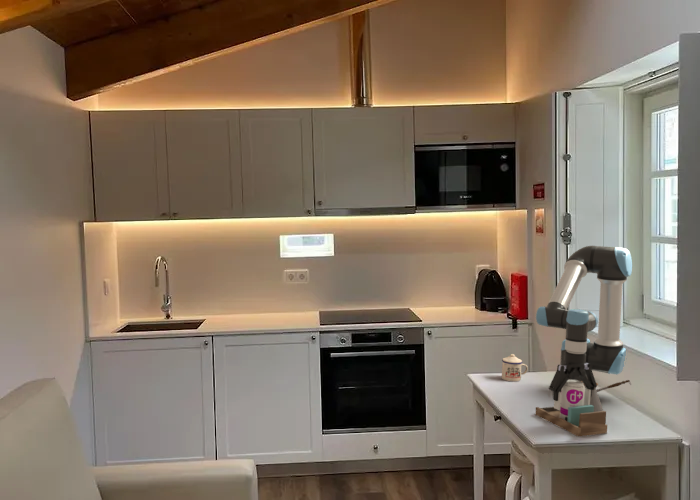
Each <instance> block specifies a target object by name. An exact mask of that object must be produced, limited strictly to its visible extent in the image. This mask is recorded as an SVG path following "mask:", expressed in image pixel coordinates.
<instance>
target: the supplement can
mask: <svg viewBox="0 0 700 500" xmlns="http://www.w3.org/2000/svg"><path fill="white" fill-rule="evenodd" d="M584 392H585V386H584V384H583V382H581V381H578V380H572V379H568V381H567V382H566V383H565V385H564V386H563V388H562V389H561V407H560V418H561V419H563V420H565V421H568V407H575V406H584Z"/></svg>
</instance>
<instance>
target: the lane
mask: <svg viewBox="0 0 700 500" xmlns="http://www.w3.org/2000/svg"><path fill="white" fill-rule="evenodd" d="M534 414H535V416H537V417H539V418H540V419H543V420H545V421H547V422H549V424H550V423H551V424H552V425H554V426H557V427H558V428H561V429H562V430H564V431H566V432H568V433H570V434H572V435H574V436H576V437H586V436H587V435H588V436H595V435H601V434H602V435H603V434H607V433H608V424H606V421H607V411H606V410H603V411H598V412H589V413H580V419H579V426H575V425H573V424H571V423H569V422H567V421H565V420H563V419H561V418H560V410H557V409H555V408H554V406H548V407H540V406H536V407H535V413H534Z"/></svg>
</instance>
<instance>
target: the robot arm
mask: <svg viewBox="0 0 700 500" xmlns="http://www.w3.org/2000/svg"><path fill="white" fill-rule="evenodd" d="M632 259H633V258H632V255H631V252H630V250H628V249H627V248H624V247H618V246H604V245H602V246H601V245H586V246H584V247H581V248H579V249H578V250H576V251H574V252H573V253H572V254H570V256H569V257H568V258H567V260H566V261H565V264H564V265H563V268H564V271H563V273H562V275H561V277H560V279H559V281H558V283H557V285H556V287H555V289H554V291H553V293H552V295H551V297H550V299H549V301H548V303H547V304H546V306H539V307H538V308H537V310H536V313H535V319H536V323H537V324H538V325H539V326H542V327H549V328H555V329H556V328H557V329H564V330H565V339H563V340H562V342H561V348H560V364H557V366H556V367H557V368H556V371H555V373H554V375H553V378H552V380H551V383H550V384H549V387H548V390H550V391H551V392H553V394H552V395H553V397H552V399H553V403H554V404H553V407H554V408H555V409H557V410H560V407H561V389H562V388H563V386H564V385H565V383H566V382H567V381H568V379H572V380H578V381H582V382H583V383H584V385H585V386H586V387H587V388H585V392H584V405H590V397H591V396H592V390H594V389H595V388H594V387H596V388H597V387H598V385H597V384H596V383H597V382H596V381H597V380H596V378H595V375H594V373H593V372H599V373H602V374H603V373H604V374H609V375H617V376H618V375H619V374H621V373H622V371H624V368H625V365H624V361H625V356H626V349H627V348H625V347H624V342H623V341H622V340H621V339H620V335H621V333H620V332H621V320H622V319H621V316H622V300H623V298H622V297H623V284H624V283H625V282H626V281H627V278H628V277H630V276H631V275H632V273H633V261H632ZM590 273H591V274H596V279H597V280H598V281H599V282H600V289H599V306H598V317H597V314H596V313H594V312H593V311H590V310H586V309H585V310H584V309H578V308H577V309H576V308H574V309H568V308H569V307H570V304H571V302H572V299H573V298H574V295H575V293H576V291H577V289H578V287H579V285H580V282H581V281H582V278H584V277H586V276H587V274H590ZM597 325H598V328H597V329H598V330H597V337H596V338H595V339H594V340H593V342H591V341H590V339H589V338H588V333H589V332H592V331H593V330H594V329H595V328H596V327H597ZM623 367H624V368H623Z"/></svg>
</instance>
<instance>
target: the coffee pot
mask: <svg viewBox="0 0 700 500" xmlns="http://www.w3.org/2000/svg"><path fill="white" fill-rule="evenodd" d="M581 382H582V381H581ZM626 383H628V384H629V385H630V386H632V383H631V381H630V380H629V379H627V380H622V381H619V382H616V383H613V384H610V385H607V386H605V387H601V388H597V387H594V388H595V389H594V390H592V396H591V397H590V405H593V406H594V412H598V411H604V409H603V408H604V407H603V405H602V403H601V400H600V397H599V394H598V393H599V392H601V391H605V390H607V389H611V388H615V387H619V386H621V385H625V384H626ZM583 384H584V383H583ZM596 384H597V386H598V385H599V383H598V382H596ZM584 386H585V385H584ZM585 388H587V387H586V386H585ZM584 406H585V405H584Z"/></svg>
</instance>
